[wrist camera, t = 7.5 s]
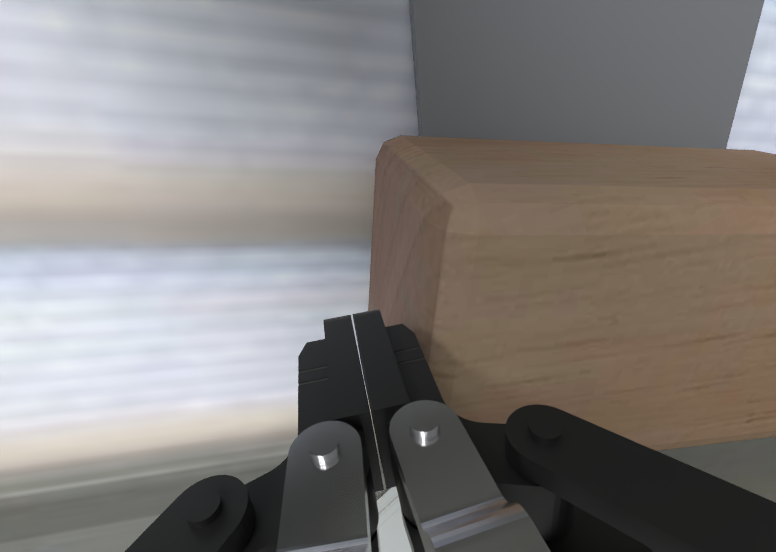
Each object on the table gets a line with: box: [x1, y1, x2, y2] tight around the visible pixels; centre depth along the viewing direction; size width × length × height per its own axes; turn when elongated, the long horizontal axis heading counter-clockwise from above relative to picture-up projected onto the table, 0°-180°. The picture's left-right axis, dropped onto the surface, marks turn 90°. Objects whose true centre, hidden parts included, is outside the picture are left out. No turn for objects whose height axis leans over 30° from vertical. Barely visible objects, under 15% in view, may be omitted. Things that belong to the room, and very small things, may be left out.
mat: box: [409, 0, 764, 149], centre depth 21 cm, size 24×16×1 cm, turn 6°
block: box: [368, 136, 776, 451], centre depth 18 cm, size 10×10×20 cm
